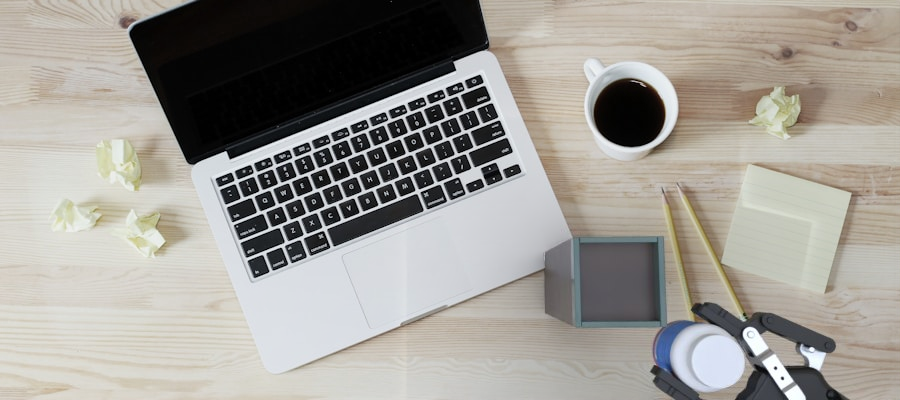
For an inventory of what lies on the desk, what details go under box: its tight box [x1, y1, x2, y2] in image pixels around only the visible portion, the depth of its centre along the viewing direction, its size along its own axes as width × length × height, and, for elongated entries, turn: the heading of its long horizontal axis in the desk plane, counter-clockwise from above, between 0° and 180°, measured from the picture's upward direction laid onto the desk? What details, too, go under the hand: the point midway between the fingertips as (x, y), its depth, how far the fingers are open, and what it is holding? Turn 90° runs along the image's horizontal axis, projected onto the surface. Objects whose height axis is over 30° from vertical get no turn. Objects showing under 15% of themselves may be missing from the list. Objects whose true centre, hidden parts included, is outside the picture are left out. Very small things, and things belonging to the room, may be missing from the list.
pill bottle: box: [651, 319, 746, 394], centre depth 60 cm, size 6×5×10 cm
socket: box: [570, 235, 668, 329], centre depth 60 cm, size 7×7×2 cm
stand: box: [543, 238, 655, 327], centre depth 74 cm, size 7×7×27 cm
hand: (675, 338), depth 59 cm, fingers closed on pill bottle, 5 cm apart
